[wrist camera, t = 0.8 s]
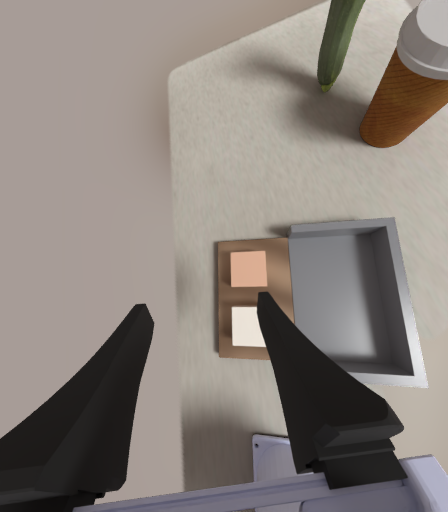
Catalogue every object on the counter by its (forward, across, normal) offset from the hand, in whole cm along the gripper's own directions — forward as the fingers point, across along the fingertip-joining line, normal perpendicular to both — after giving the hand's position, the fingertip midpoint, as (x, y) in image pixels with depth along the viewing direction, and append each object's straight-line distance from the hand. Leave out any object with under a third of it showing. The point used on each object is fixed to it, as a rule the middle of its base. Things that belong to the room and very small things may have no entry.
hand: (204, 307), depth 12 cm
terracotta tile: (+12, -6, +7) cm, 15 cm away
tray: (+8, -16, +10) cm, 20 cm away
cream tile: (+7, -5, +12) cm, 15 cm away
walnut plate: (+10, -6, +10) cm, 16 cm away
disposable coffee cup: (+23, -28, -8) cm, 37 cm away
